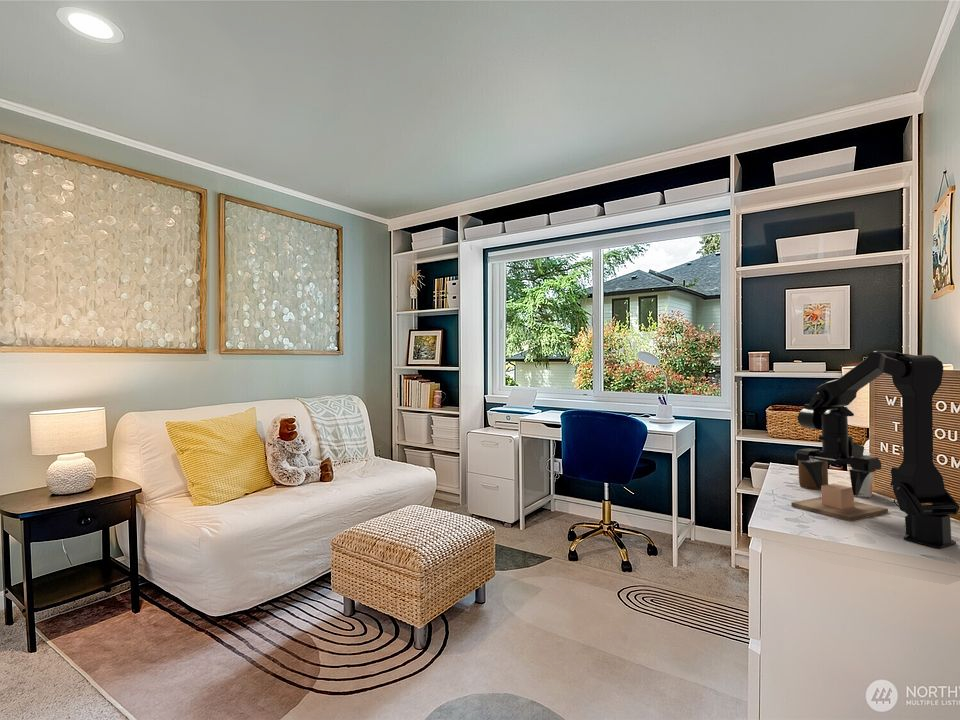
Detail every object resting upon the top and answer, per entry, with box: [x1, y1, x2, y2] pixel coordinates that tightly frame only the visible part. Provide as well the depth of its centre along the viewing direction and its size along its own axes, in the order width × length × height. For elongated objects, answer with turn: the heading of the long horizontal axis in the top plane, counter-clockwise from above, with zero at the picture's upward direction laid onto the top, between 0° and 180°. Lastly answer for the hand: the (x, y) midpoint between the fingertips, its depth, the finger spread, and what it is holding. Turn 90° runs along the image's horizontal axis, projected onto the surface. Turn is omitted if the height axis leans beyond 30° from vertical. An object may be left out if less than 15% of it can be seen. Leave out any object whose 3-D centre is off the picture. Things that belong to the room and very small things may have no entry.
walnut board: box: [790, 496, 889, 522], centre depth 134 cm, size 15×15×1 cm
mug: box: [797, 460, 829, 491], centre depth 155 cm, size 12×8×9 cm, turn 160°
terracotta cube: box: [821, 483, 855, 509], centre depth 134 cm, size 5×5×5 cm
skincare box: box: [850, 451, 873, 498], centre depth 147 cm, size 6×4×12 cm
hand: (837, 491), depth 134 cm, fingers open, 9 cm apart
